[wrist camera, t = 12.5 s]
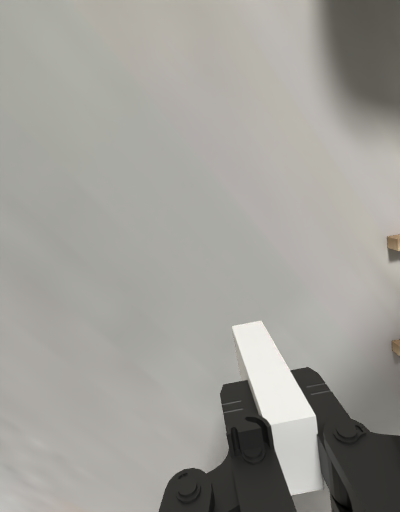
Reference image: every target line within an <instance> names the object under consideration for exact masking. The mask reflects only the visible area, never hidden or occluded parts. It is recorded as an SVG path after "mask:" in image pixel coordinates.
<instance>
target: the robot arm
mask: <svg viewBox="0 0 400 512" xmlns="http://www.w3.org/2000/svg"><path fill="white" fill-rule="evenodd" d="M232 331H233V337H234V343H235V348H236V354H237V360H238V366H239V371H240V376H241V379H242V381H239V382H234V383H229V384H224V385H223V387H222V390H221V393H220V397H221V403H222V408H223V414H224V419H225V425H226V431H227V440H228V445H229V451H228V455H227V457H226V459H225V460H224V461H223V463H222V464H221V465H220V466H218V467H217V468H215V469H214V470H212V471H210V472H208V473H207V474H206V473H205V472H203V471H202V470H200V469H195V468H190V469H184V470H182V471H180V472H179V473H177V474H175V475H174V476H173V477H172V479H171V480H170V481H169V483H168V485H167V487H166V489H165V492H164V495H163V499H162V502H161V506H160V509H159V512H297V511H296V509H295V506H294V503H293V500H292V497H291V495H296V494H301V493H306V492H311V491H316V490H321V489H324V483H323V477H324V480H325V482H326V484H327V486H328V488H329V490H330V499H331V509H332V512H400V436H396V435H383V434H377V433H373V432H370V431H369V430H368V429H367V428H366V427H365V426H364V425H363V424H361V423H359V422H357V421H355V420H352V419H351V418H350V417H349V415H348V414H347V413H346V411H345V410H344V408H343V407H342V406H341V404H340V403H339V401H338V400H337V399H336V397H335V396H334V394H333V393H332V392H331V391H330V389H329V387H328V386H327V385H326V384H325V382H324V380H323V379H322V378H321V376H320V375H319V374H318V373H317V372H315V371H314V370H312V369H310V368H309V367H306V368H301V369H296V370H291V371H290V370H289V368H288V366H287V365H286V363H285V361H284V359H283V358H282V356H281V354H280V352H279V351H278V349H277V347H276V346H275V344H274V342H273V340H272V339H271V337H270V335H269V333H268V332H267V330H266V328H265V326H264V325H263V323H262V321H256V322H251V323H246V324H241V325H236V326H232Z"/></svg>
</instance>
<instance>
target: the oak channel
mask: <svg viewBox="0 0 400 512" xmlns="http://www.w3.org/2000/svg"><path fill="white" fill-rule="evenodd" d="M387 240H388V248H390V249H393V250H396V251H400V234H399V235H393V236H388V237H387ZM392 351H394V352H395V353H396V354H398V355H399V356H400V339H399V340H394V341H392Z"/></svg>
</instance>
